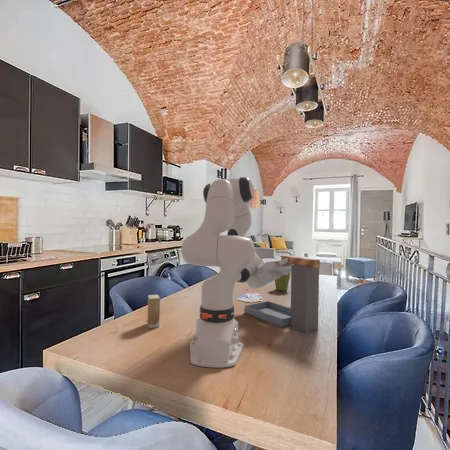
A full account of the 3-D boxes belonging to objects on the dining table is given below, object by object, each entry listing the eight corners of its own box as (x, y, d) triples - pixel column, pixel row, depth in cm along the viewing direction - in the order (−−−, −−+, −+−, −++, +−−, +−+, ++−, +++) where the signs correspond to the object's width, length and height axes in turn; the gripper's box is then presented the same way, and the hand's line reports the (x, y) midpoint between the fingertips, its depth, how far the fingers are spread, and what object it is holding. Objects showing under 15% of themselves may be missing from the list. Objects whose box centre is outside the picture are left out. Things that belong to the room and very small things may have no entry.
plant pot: (271, 291, 187) (271, 273, 187) (274, 287, 198) (274, 270, 198) (289, 293, 183) (290, 275, 183) (291, 289, 194) (292, 272, 194)
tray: (244, 312, 141) (244, 305, 141) (268, 307, 151) (268, 300, 151) (282, 327, 122) (282, 319, 122) (306, 320, 131) (306, 312, 131)
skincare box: (147, 323, 124) (147, 294, 124) (157, 322, 126) (157, 294, 126) (148, 328, 118) (149, 298, 118) (159, 327, 120) (160, 297, 120)
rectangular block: (281, 262, 131) (281, 255, 131) (285, 261, 133) (285, 255, 133) (315, 267, 117) (315, 260, 117) (319, 267, 118) (319, 259, 118)
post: (290, 326, 123) (291, 265, 123) (302, 322, 128) (303, 263, 128) (305, 332, 117) (307, 267, 117) (318, 328, 122) (319, 266, 122)
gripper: (253, 266, 133) (272, 253, 123) (283, 263, 145) (303, 251, 135) (257, 279, 130) (277, 267, 121) (288, 275, 143) (309, 264, 133)
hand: (291, 259), depth 128 cm, fingers closed on rectangular block, 3 cm apart
